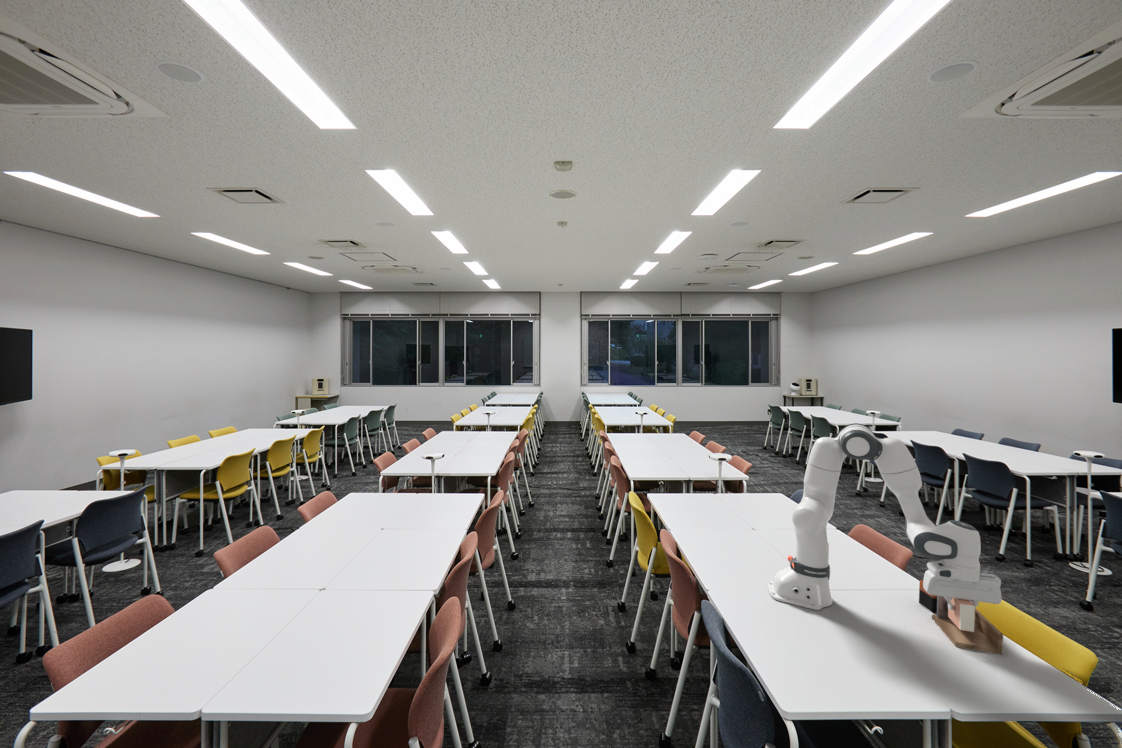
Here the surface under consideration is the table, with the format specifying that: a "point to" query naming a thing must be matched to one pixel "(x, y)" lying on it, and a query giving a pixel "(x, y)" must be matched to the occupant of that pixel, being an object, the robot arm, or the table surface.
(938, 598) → the grey flat square slab
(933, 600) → the battery
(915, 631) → the table surface
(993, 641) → the shelf
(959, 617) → the rectangular block
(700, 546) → the table surface
